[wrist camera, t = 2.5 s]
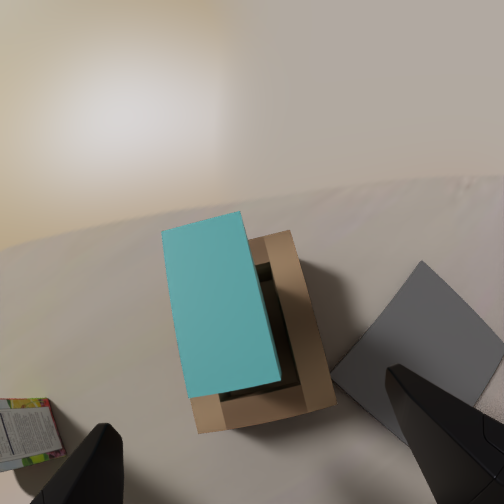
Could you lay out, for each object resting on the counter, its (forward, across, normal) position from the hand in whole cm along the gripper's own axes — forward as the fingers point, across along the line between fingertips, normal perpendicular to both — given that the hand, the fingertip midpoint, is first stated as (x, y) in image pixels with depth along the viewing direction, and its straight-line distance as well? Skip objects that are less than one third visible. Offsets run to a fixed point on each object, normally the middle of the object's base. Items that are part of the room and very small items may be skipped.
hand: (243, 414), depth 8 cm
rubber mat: (+6, -11, +8) cm, 15 cm away
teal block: (+9, 0, +5) cm, 10 cm away
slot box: (+10, 0, +5) cm, 11 cm away
